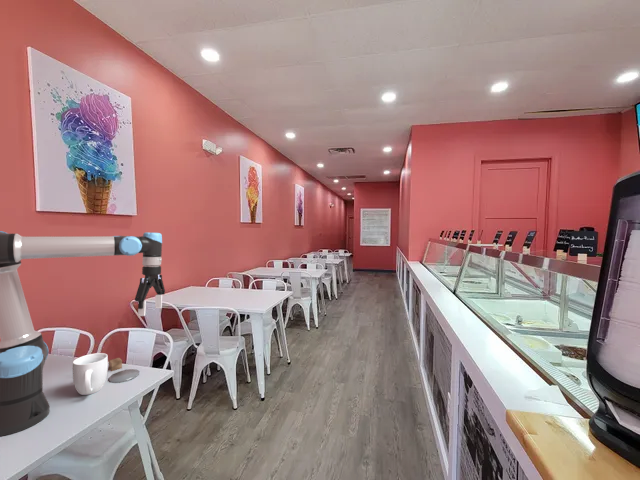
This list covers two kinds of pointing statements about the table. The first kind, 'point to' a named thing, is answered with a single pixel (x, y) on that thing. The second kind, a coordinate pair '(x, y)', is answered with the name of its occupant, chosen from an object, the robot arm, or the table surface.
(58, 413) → the table surface
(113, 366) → the walnut cube
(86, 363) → the mug
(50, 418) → the table surface
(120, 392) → the table surface
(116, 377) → the coaster
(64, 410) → the table surface
